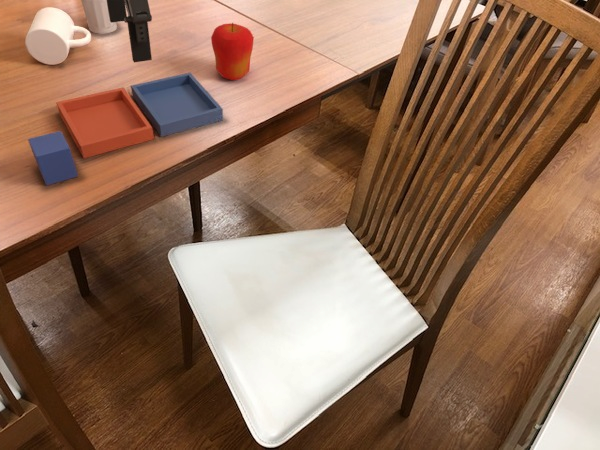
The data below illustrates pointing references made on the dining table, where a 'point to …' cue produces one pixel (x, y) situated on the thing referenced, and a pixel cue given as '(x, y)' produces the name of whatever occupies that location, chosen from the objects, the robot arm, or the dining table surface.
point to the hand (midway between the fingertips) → (129, 39)
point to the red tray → (104, 122)
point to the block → (53, 157)
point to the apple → (232, 50)
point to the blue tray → (176, 104)
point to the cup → (98, 16)
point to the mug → (53, 36)
